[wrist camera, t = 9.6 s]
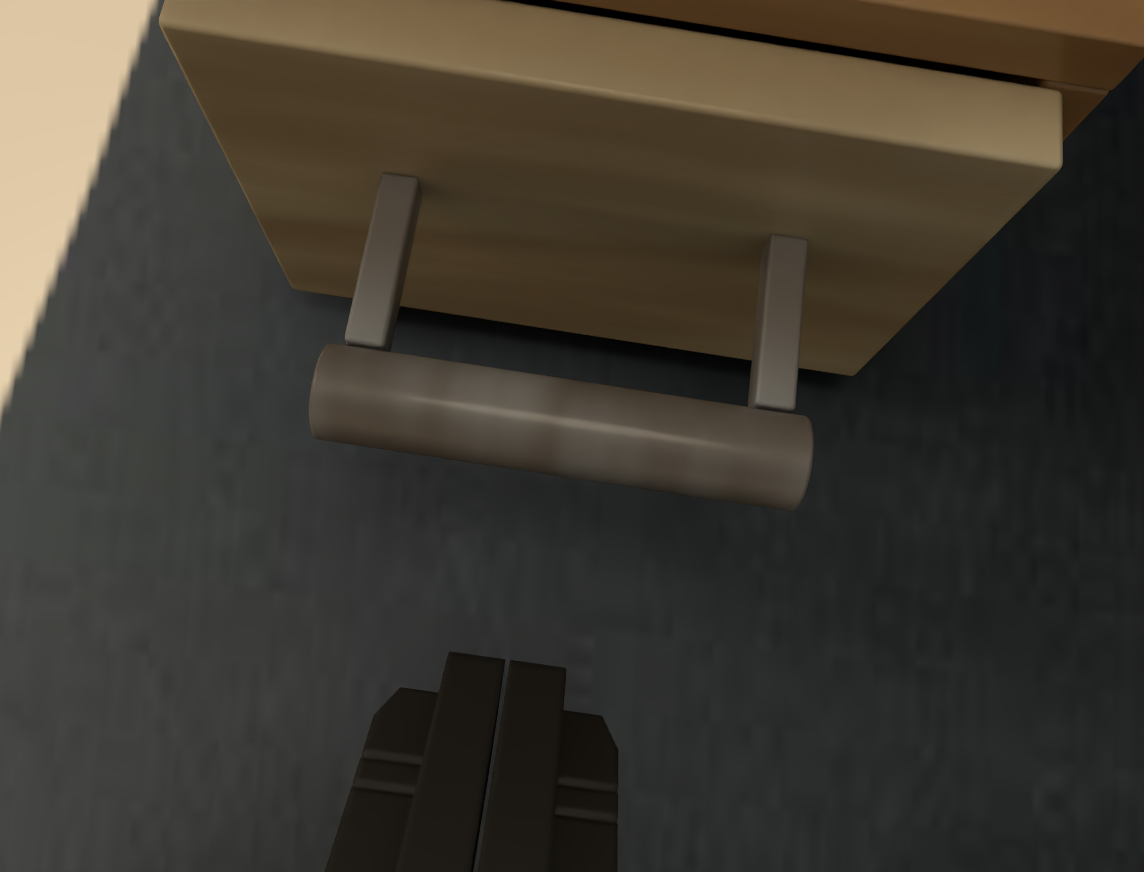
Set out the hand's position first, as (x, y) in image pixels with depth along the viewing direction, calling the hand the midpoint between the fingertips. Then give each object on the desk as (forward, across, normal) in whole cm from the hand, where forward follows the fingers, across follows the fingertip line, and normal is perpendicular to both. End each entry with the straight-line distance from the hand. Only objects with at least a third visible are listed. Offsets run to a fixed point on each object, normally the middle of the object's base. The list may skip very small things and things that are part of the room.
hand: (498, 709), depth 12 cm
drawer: (+12, 0, -5) cm, 13 cm away
